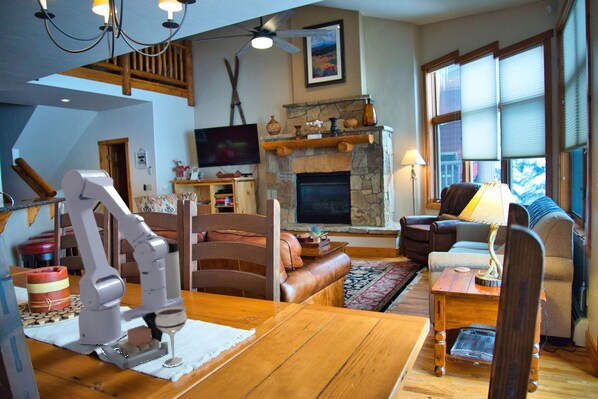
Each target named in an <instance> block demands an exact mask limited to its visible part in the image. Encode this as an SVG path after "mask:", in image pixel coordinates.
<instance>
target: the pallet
mask: <svg viewBox="0 0 598 399" xmlns="http://www.w3.org/2000/svg"><path fill="white" fill-rule="evenodd" d="M151 338H152V341H151V342H148V343H145V344H142V345H139V346H136V347H135V346H133V345H132V344H130V343H129V342H128V341H127V340H125V341H122V342H118V348H119V350H118V353H119V352H120V353H121V352H123V353H121V354H123V357H124V356H127V355H128V357H127V359H128V358H131V357H134V356H137V355H140V354H142V353H145V352H148V351H151V350H154V349H157V348H160V347H161V343H160V342H159V341H158V340H156V339H155V338H153V337H152V336H151Z"/></svg>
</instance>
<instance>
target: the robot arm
mask: <svg viewBox="0 0 598 399" xmlns="http://www.w3.org/2000/svg"><path fill="white" fill-rule="evenodd" d="M60 185H61V189H62V191H63V192H62V193H63V195H64V199H65V204H66V209H67V212H68V217H69V219H70V223H71V226H72V229H73V230H72V231H73V234H74V236H75V240H76V243H77V247H78V251H79V254H80V257H81V261H82V263H83V267H84V271H85V272H84V274H83V276H82V277H81V278H80V280H79V282H78V285H79V299H80V302H81V304H82V306H83V307H82V308H81V309H80V311H79V314H78V321H77V322H78V331H79V332H78V333H79V340H77V344H78V345H95V346H101V345H100V344H107V343H108V344H111V343H113V342H115V341H116V342H117V340H118V339H119V340H121V339H123V338H124V337H126V336H128V332H127V331H125V330H124V331H123V330H122V321H121V308H120V306H121V305H120V302H122V298H123V297H124V295H125V293H126V284H125V281H124V280H123V279H122V278H121V276H120V274H119V271H118V269H116V268H114V267H112V266H110V265H109V263H108V262H109V261H108V259H107V256H106V255H107V254H106V252H105V249H104V245H103V242H102V239H101V234H100V231H99V228H98V225H97V221H96V218H95V215H94V211H93V207H94V205H95V203H97V202H98V201H100V203H101V204H102V205H103V206H104V207H105V208H106V209H107V210H108V212H110V213H111V215H112V216H113V217H114V218H115V219H116V220H117V221H118V227H117V228H118V230H119V231H120V233H121V234H122V236H123V237H124V238H125V239H126V241H127V242H128V243H129V244H130V245H131V247H132V248H133V250H134V251H133V252H132V255H133V256H132V257H133V258H134V260H135V261H136V264H137V268H138V271H139V276H140V277H139V278H140V289H141V290H140V292H141V303H142V304H141V305H140V306H137V307H133V308H132V309H128V310H125V311H123V313H122V314H123V321H125V322H127V323H128V322H132V320H135V319H139V318H142V320H143V321H144V323H145V325H146V326H147V327H148V328H150V329H151V337H153V338H155V339H156V340H158V341H159V343H162V340H163V335H164V334H163V332H162V331H160V330H159V329H158V328H157V327H156V324H155V318H156V316H157V315H156V314H155V311H156V310H157V309H159V308H161V307H165V306H170V305H182V306H185V298H183V297H182V296H181V297H178V298H174V299H167V295H166V277H165V261H164V258H165V257H166V256H167V255H168V252H169V246H168V244H167V243H168V242H167V240H166V238H164V237H163V236H158V235H157V233H154V231H152V229H150V227H149V226H148V225H147V223H145V219H144V217H143V216H140V214H136V213H132V212H131V211H130V210H129V208H128V206H127V204H126V203H125V202H124V201H123V199H122V197H121V196H120V194H119V193H118V191H117V190H116V189H115V187H114V179H113V178H112V177H110V175H109V173H108V172H107V171H106V170H105V169H101V168H100V169H69V170H68V171H67V172H65V174H64V176H63V178H62V180H61V182H60ZM99 279H100V280H99ZM125 335H126V336H125ZM123 336H124V337H123ZM120 338H121V339H120ZM119 340H118V341H119ZM96 344H98V345H96Z"/></svg>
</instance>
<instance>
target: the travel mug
mask: <svg viewBox="0 0 598 399" xmlns="http://www.w3.org/2000/svg"><path fill="white" fill-rule="evenodd" d="M167 244H168V246H169V252H168V255H167V256H166V257H165V258H164V261H165V277H166V295H167V299H174V298H178V297H181V298H182V290H181V289H182V288H181V272H180V270H181V269H180V257H179V256H180V255H179V254H180V253H179V243H178V242H175V243H171V242H167Z"/></svg>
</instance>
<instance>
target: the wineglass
mask: <svg viewBox="0 0 598 399" xmlns="http://www.w3.org/2000/svg"><path fill="white" fill-rule="evenodd" d="M186 309H187V307H186V306H185V305H184V306H182V305H170V306H165V307H161V308H159V309H157V310H156V311H155V314H156V315H157V316H156V318H155V324H156V327H157V328H158V329H159V330H160V331H162V332H163V333H164V334H167V335H168V336H169V337H170V345H171V346H170V347H171V349H170V350H171V357H170V358H167V359H168V360H167V359H166V361H165V360H164V361H165V362H164V361H163V362H164V364H166V365H168V366H169V365H170V366H172V365H175V364H178V363H180V362H181V361H182V358H183V357H181V358H178V357H175V335H176V333H178V332H180V331H181V330H182V329H183V328H184V326H186V322H187V321H188V316H187V313H186ZM174 357H175V358H174Z"/></svg>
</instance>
